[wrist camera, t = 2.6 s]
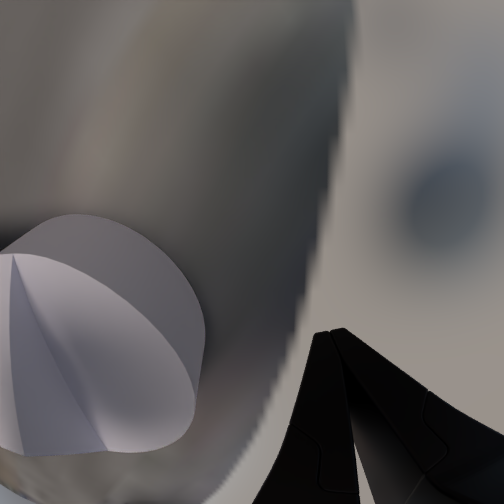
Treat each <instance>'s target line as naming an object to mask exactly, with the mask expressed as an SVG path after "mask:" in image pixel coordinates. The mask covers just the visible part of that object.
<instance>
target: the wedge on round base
mask: <svg viewBox="0 0 504 504" xmlns="http://www.w3.org/2000/svg"><path fill="white" fill-rule="evenodd" d="M204 346H205V324H204V317H203V314H202V310H201V307H200V304H199V301H198V299H197V297H196V295H195V293H194V291H193V289H192V287H191V285H190V284H189V282H188V281H187V279H186V277H185V276H184V274H183V273H182V272H181V271H180V269H179V268H178V267H177V266H176V265H175V263H174V262H173V261H172V260H171V259H170V258H169V257H168V256H167V255H166V254H165V253H164V252H163V251H162V250H161V249H160V248H159V247H157V246H156V245H155V244H153V243H152V242H151V241H149V240H148V239H147V238H145V237H144V236H142V235H141V234H139V233H137V232H136V231H134V230H132V229H130V228H129V227H127V226H124V225H122V224H120V223H117V222H115V221H113V220H109V219H105V218H102V217H98V216H93V215H85V214H68V215H63V216H58V217H54V218H51V219H49V220H46V221H44V222H42V223H41V224H39V225H38V226H36V227H35V228H33V229H32V230H30V231H29V232H27V233H26V234H24V235H23V236H21V237H20V238H19V239H17V240H16V241H14V242H13V243H12V244H10V245H9V246H7V247H6V248H5V249H3V250H2V251H1V252H0V447H2V448H5V449H7V450H10V451H12V452H15V453H17V454H20V455H22V456H55V455H70V454H82V453H92V452H101V451H115V452H127V453H136V452H147V451H152V450H157V449H160V448H163V447H166V446H168V445H169V444H171V443H173V442H175V441H176V440H178V439H179V438H180V437H181V436H183V435H184V433H185V432H186V431H187V430H188V428H189V427H190V424H191V422H192V420H193V417H194V412H195V407H196V400H197V392H198V386H199V379H200V372H201V365H202V359H203V352H204Z"/></svg>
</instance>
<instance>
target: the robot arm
mask: <svg viewBox="0 0 504 504" xmlns="http://www.w3.org/2000/svg"><path fill="white" fill-rule="evenodd" d="M289 424H290V425H289V426H288V428H287V432H286V435H285V438H284V441H283V443H282V446H281V449H280V451H279V454H278V456H277V458H276V460H275V462H274V464H273V466H272V469H271V471H270V473H269V474H268V476H267V478H266V480H265V482H264V483H263V485H262V487H261V489H260V491H259V492H258V494H257V496H256V498H255V499H254V501H253V503H252V504H360V496H359V484H358V475H357V465H356V456H355V448H354V443H355V446H356V449H357V452H358V454H359V457H360V460H361V463H362V466H363V469H364V472H365V475H366V478H367V480H368V484H369V487H370V490H371V493H372V495H373V499H374V502H375V504H504V435H502V434H500V433H499V432H497V431H495V430H493V429H491V428H489V427H487V426H485V425H484V424H482V423H480V422H478V421H476V420H475V419H473V418H471V417H469V416H467V415H466V414H464V413H462V412H460V411H459V410H457V409H455V408H454V407H452V406H451V405H450V404H448V403H447V402H445V401H443V400H442V399H441V398H439V397H438V396H437V395H435V394H434V393H433V392H431V391H428V389H427V388H425V387H424V386H423V385H421V384H420V383H419V382H417V381H416V380H415V379H413V378H412V377H410V376H409V375H408V374H406V373H405V372H404V371H402V370H400V368H398V367H397V366H395V365H394V364H393V363H391V362H390V361H388V360H387V359H386V358H385V357H383V356H382V355H380V354H379V353H378V352H376V351H375V350H374V349H372V348H371V347H370V346H368V345H367V344H366V343H364V342H363V341H362V340H360V339H359V338H358V337H356V336H355V335H353V334H352V333H351V332H349V331H348V330H347V329H345V328H339V329H334V330H331V331H330V332H328V331H323V332H318V333H315V334H314V336H313V340H312V344H311V347H310V351H309V356H308V359H307V363H306V367H305V370H304V374H303V378H302V382H301V385H300V389H299V392H298V396H297V399H296V402H295V406H294V409H293V413H292V416H291V419H290V423H289Z"/></svg>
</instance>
